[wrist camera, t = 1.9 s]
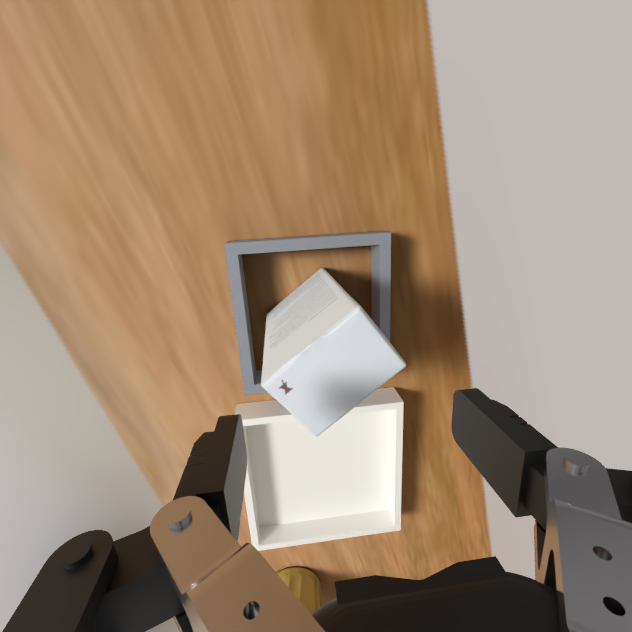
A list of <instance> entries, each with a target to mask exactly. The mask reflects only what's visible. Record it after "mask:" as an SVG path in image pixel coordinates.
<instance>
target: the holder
mask: <svg viewBox="0 0 632 632" xmlns="http://www.w3.org/2000/svg"><path fill="white" fill-rule="evenodd" d="M368 245H371V319H372V320H373V321H374V323H375V324H376V325H377V327H378V328H379V329H380V330H381V332H382V333H383V334H384V335H385V337H386V338H387V339H388V341H389V342H390V298H391V232H385V231H370V232H355V233H340V234H325V235H310V236H295V237H279V238H264V239H249V240H234V241H228V242H226V243H224V246H225V253H226V261H227V268H228V275H229V282H230V290H231V297H232V304H233V312H234V319H235V326H236V333H237V341H238V348H239V355H240V363H241V370H242V377H243V384H244V392H245V395H249V394H259V393H268V392H267V391H266V390H265V389H264V388H263V387H262V386H261V377H262V370H256V364H255V356H254V348H253V340H252V332H251V324H250V316H249V307H248V299H247V291H246V283H245V275H244V267H243V259H242V254H253V253H268V252H282V251H296V250H311V249H325V248H339V247H354V246H368ZM389 380H390V379H389Z"/></svg>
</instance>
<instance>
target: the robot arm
mask: <svg viewBox="0 0 632 632" xmlns="http://www.w3.org/2000/svg"><path fill="white" fill-rule="evenodd" d="M452 433H453V436H454V439H455V441H456V443H457V444H458V445H459V447H460V448H461V449H462V450H463V452H464V453H465V454H466V455H467V457H468V458H469V459H470V460H471V462H472V463H473V464H474V466H475V467H476V468H477V469H478V471H479V472H480V473H481V474H482V476H483V477H484V478H485V479H486V481H487V482H488V483H489V484H490V486H491V487H492V488H493V489H494V491H495V492H496V493H497V494H498V495H499V497H500V498H501V499H502V501H503V502H504V503H505V504H506V506H507V507H508V508H509V509H510V511H511V512H512V513H513V514H514V516H515V517H522V516H528V515H532V516H533V517H534V518H535V519H536V520H535V526H534V539H535V540H534V543H535V544H534V545H535V580H533V579H531V578H528V577H525V576H522V575H518V574H514V573H510V572H505V570H504V569H503V567H502V566H501V564H500V563H499V561H498V559H497V558H496V557H489V558H482V559H476V560H470V561H463V562H457V563H455V564H453V565H451V566H449V567H447V568H445V569H443V570H441V571H439V572H438V573H436V574H434V575H432V576H430V577H428V578H426V579H423V580H411V579H402V578H393V577H385V576H376V575H375V576H369V577H362V578H356V579H350V580H344V581H337V582H335V599H333V600H331V601H329V602H327V603H326V604H324V605H323V606H321V607H320V608H318V609H317V610H316V611H315V612H314V613H313V614H312V615H311V614H310V613H309V611H308V610H307V609H306V608H305V607H304V605H303V604H302V603H301V602H300V601H299V599H298V598H297V597H296V596H295V595H294V593H293V592H292V591H291V590H290V589H289V588H288V586H287V585H286V584H285V583H284V582H283V580H282V579H281V578H280V577H279V576H278V574H277V573H276V572H275V571H274V570H273V568H272V567H271V566H270V565H269V564H268V562H267V561H266V560H265V559H264V558H263V557H262V555H261V554H260V553H259V552H258V551H257V549H256V548H255V547H254V546H253V545H252V544H250V543H246V544H245V545H243V546H240V545H239V543H238V542H237V541H238V533H239V525H240V517H241V510H242V502H243V494H244V486H245V478H246V471H247V452H246V444H245V437H244V430H243V423H242V417H241V415H240V414H236V415H227V416H220V417H219V418H218V421H217V425H216V428H215V431H214V432H205V433H203V434H202V436H201V437H200V438H199V439H198V440H197V441H196V442H195V443H194V446H193V448H192V451H191V454H190V456H189V459H188V462H187V466H186V467H185V469H184V472H183V475H182V477H181V480H180V483H179V485H178V488H177V491H176V493H175V496H174V499H173V501H172V502H170V503H168V504H167V505H165V506H164V507H163V508H161V509H160V510H159V512H158V513H157V514H156V515H155V517H154V518H153V520H152V522H151V525H150V526H149V527H147V528H145V529H144V530H141V531H139V532H136V533H134V534H132V535H129V536H126V537H124V538H121V539H119V540H116V541H114V542H113V539H112V537H111V535H110V534H109V533H108V532H106V531H103V530H94V531H88V532H85V533H82V534H80V535H78V536H76V537H74V538H72V539H70V540H69V541H67V542H66V543H64V544H63V545H62V546H60V547H59V548H58V549H57V550H56V551H55V552H54V553H53V554H52V555H51V556H50V557H49V558H48V560H47V561H46V563H45V564H44V566H43V567H42V569H41V570H40V572H39V574H38V575H37V577H36V579H35V580H34V582H33V583H32V585H31V586H30V588H29V590H28V591H27V593H26V595H25V596H24V598H23V599H22V601H21V603H20V605H19V606H18V607H17V609H16V611H15V612H14V614H13V615H12V617H11V619H10V620H9V622H8V624H7V625H6V627H5V628H4V630H3V632H145V631H147V630H149V629H151V628H153V627H155V626H157V625H159V624H161V623H163V622H164V621H167V620H168V619H170V618H172V617H173V619H174V621H175V623H176V625H177V627H178V630H179V632H632V471H626V470H617V469H607V468H605V467H604V466H603V465H602V464H601V463H600V462H599V461H598V460H596V459H595V458H593V457H591V456H589V455H587V454H585V453H583V452H580V451H577V450H574V449H569V448H558V447H556V446H555V445H554V444H553V443H552V442H550V441H549V440H548V439H547V438H545V437H544V436H543V435H542V434H541V433H539V432H538V431H537V430H536V429H534V428H533V427H532V426H531V425H528V424H527V422H526V421H524V420H523V419H522V418H521V417H519V416H518V415H517V414H516V413H515V412H514V411H512V410H511V409H510V408H509V407H507V406H505V405H503V404H501V403H499V402H497V401H495V400H491V399H489V398H488V397H487V396H486V395H485V394H484V393H482V392H481V391H480V390H479V389H477V388H474V389H465V390H457V391H455V393H454V398H453V413H452Z"/></svg>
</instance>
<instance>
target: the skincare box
mask: <svg viewBox="0 0 632 632" xmlns="http://www.w3.org/2000/svg"><path fill="white" fill-rule="evenodd" d="M405 367H406V363H405V361H404V360H403V359H402V357H401V356H400V355H399V353H398V352H397V351H396V349H395V348H394V347H393V346H392V344H391V343H390V342H389V341H388V339H387V338H386V337H385V335H384V334H383V333H382V332H381V330H380V329H379V328H378V327H377V325H376V324H375V323H374V321H373V320H372V319H371V318H370V317H369V315H368V314H367V313H366V312H365V310H364V309H363V308H362V307H361V306H360V305H359V304H358V303H357V302H356V301H355V300H354V299H353V298H352V297H351V296H350V295H349V294H348V293H347V292H346V291H345V290H344V289H343V288H342V287H341V286H340V285H339V284H338V283H337V282H336V280H335V279H334V278H333V277H332V276H331V275H330V274H329V273H328V272H327V271H326V270H325V269H324V268H321V269H319V270H318V271H317V272H316V273H315V274H314V275H312V276H311V277H310V278H309V279H308V280H306V281H305V282H304V283H303V284H302V285H300V286H299V287H298V288H297V289H296V290H294V291H293V292H292V293H291V294H290V295H289V296H287V297H286V298H285V299H284V300H283V301H282V302H280V303H279V304H278V305H277V306H276V307H274V308H273V309H272V310H271V311H270V312H268V313H267V318H266V330H265V342H264V354H263V366H262V377H261V386H262V387H263V388H264V389H265V390H266V391H267V392H268V393H269V394H270V395H271V396H273V397H274V398H275V399H276V400H277V401H278V402H279V403H280V404H281V405H282V406H283V407H285V408H286V409H287V410H288V411H289V412H290V413H291V414H292V415H293V416H294V417H295V418H297V419H298V420H299V421H300V422H301V423H302V424H303V425H304V426H305V427H306V428H307V429H308V430H309V431H310V432H312V433H313V434H314V435H315V436H319V435H320V434H321V433H322V432H324V431H325V430H326V429H328V428H329V427H330V426H331V425H333V424H334V423H335V422H336V421H338V420H339V419H340V418H342V417H343V416H344V415H345V414H347V413H348V412H349V411H350V410H352V409H353V408H354V407H355V406H356V405H358V404H359V403H360V402H361V401H363V400H364V399H365V398H366V397H368V396H369V395H370V394H371V393H373V392H374V391H375V390H376V389H378V388H379V387H380V386H382V385H383V384H384V383H385V382H387V381H388V380H389V379H390V378H392V377H393V376H394V375H395V374H397V373H398V372H399V371H401V370H402V369H403V368H405Z"/></svg>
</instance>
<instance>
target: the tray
mask: <svg viewBox="0 0 632 632" xmlns="http://www.w3.org/2000/svg"><path fill="white" fill-rule="evenodd" d="M403 405H404V402H403V400H402V399H401V397H400V396H399V394H398V393H397V391H396V390H395V388H394V387H390V388H380V389H376V390H375V391H374V392H373V393H371V394H370V395H369V396H368V397H366V398H365V399H364V400H363V401H361V402H360V403H359V404H358V405H356V406H355V407H354V408H353V409H352V410H350V411H349V412H348V413H347V414H345V415H344V416H343V417H342V418H340V419H339V420H338V421H336V422H335V423H334V424H333V425H331V426H330V427H329V428H328V429H326V430H325V431H324V432H322V433H321V434H320V435H319V436H315V435H314V434H313V433H312V432H310V431H309V430H308V429H307V428H306V427H305V426H304V425H303V424H302V423H301V422H300V421H299V420H298V419H297V418H295V417H294V416H293V415H292V414H291V413H290V412H289V411H288V410H287V409H286V408H285V407H283V406H282V405H281V404H280V403H279V402H278V401H277V400H269V401H260V402H250V403H241V404H237V405H236V410H235V414H234V415H236V414H240V415H241V417H242V423H243V430H244V437H245V444H246V452H247V471H246V478H245V486H244V496H245V502H246V509H247V515H248V522H249V528H250V535H251V541H252V545H253V546H254V547H255V548H256V549H257V551H260V550H267V549H274V548H281V547H288V546H295V545H302V544H308V543H315V542H322V541H329V540H336V539H343V538H350V537H357V536H363V535H370V534H377V533H384V532H391V531H398V530H401V490H402V448H403Z"/></svg>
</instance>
